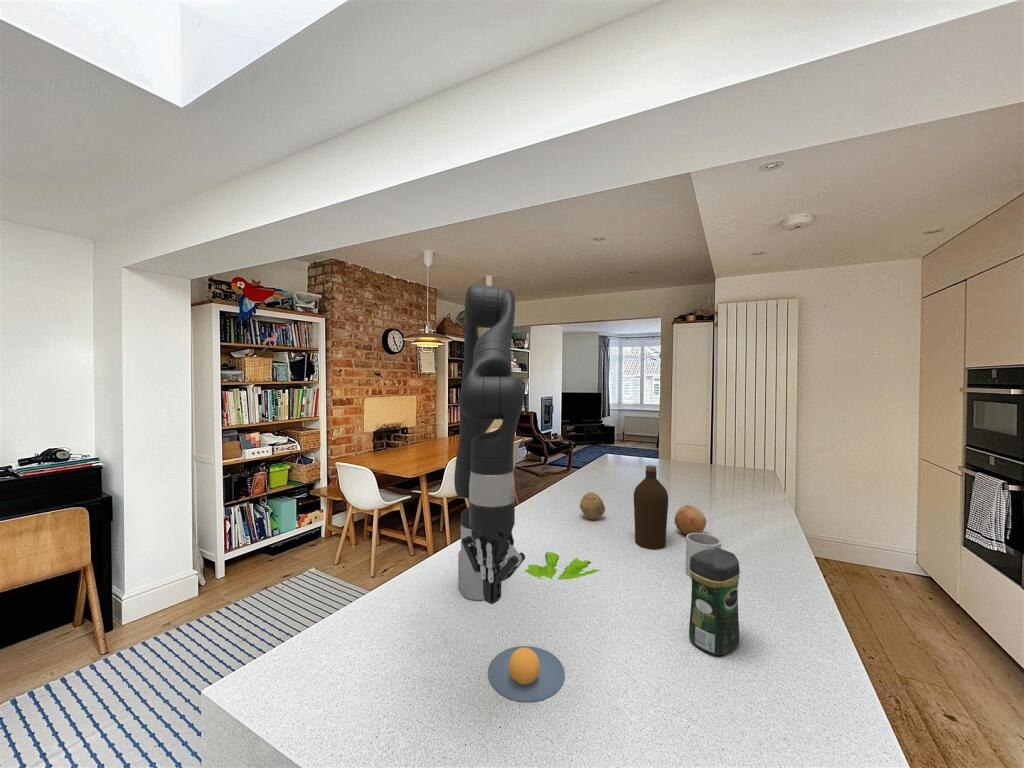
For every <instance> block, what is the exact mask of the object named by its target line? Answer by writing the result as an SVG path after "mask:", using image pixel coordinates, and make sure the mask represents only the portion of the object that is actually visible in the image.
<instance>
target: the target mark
mask: <svg viewBox="0 0 1024 768" xmlns="http://www.w3.org/2000/svg"><path fill="white" fill-rule="evenodd" d="M523 647H525V648H529V649H531V650H533V651H534V652H535V654H536V655H537V657H538V659H539V663H540V669H539V674H538V676H537V678H536V679H535V680H534V681H533V682H532V683H530V684H527V685H522V684H519V683H517V682H516V681H515V680H514V679H513V678H512V676H511V674H510V671H509V661H510V658H511V655H512V654H513V653H514V651H516V650H517V649H519V648H523ZM565 674H566V672H565V668H564V666H563V663H562V662H561V661H560V660H559V658H558V657H557V656H555V655H554V654H553V653H551V652H550V651H548V650H546V649H544V648H541V647H536V646H531V645H530V646H529V645H519V646H514V647H510V648H509V647H508V648H507V649H504V650H503V651H500V652H499V653H498V654H496V655H495V656H494V658H492V660H491V661H490V664H489V665H488V669H487V675H488V676H487V677H488V681H489V683H490V685H491V686H492V688H493V689H494V691H496V692H497V693H498V694H499V695H501V696H502V697H504V698H506V699H509V700H512V701H516V702H520V703H536V702H540V701H544V700H547V699H549V698H551V697H553V696H554V695H555V694H556V693H558V691H560V690H561V689H562V686H563V685H564V682H565V678H566V677H565V676H566V675H565Z"/></svg>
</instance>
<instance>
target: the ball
mask: <svg viewBox="0 0 1024 768" xmlns="http://www.w3.org/2000/svg"><path fill="white" fill-rule="evenodd" d="M539 669H540V663H539V659H538V657H537V655H536V654H535V652H534V651H533V650H531V649H529V648H525V647H523V648H519V649H517V650H516V651H514V653H513V654H512V655H511V658H510V661H509V671H510V674H511V676H512V678H513V679H514V680H515V681H516V682H517V683H519V684H522V685H527V684H530V683H532V682H533V681H534V680H535V679H536V678H537V676H538V674H539Z"/></svg>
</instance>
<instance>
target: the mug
mask: <svg viewBox="0 0 1024 768" xmlns="http://www.w3.org/2000/svg"><path fill="white" fill-rule="evenodd" d="M685 541H686V544H685V546H686V547H685V575H687V577H688V576H689V578H690V579H691V575H690V570H689V569H690V557H691V556H692V555H694V554H696V553H698V552H701V551H704V550H707V549H712V548H715V547H717V548H720V549H722V540H721V539H720V538H719V537H718V536H715V535H712V534H709V533H703V532H702V533H690V534H688V535H686V540H685Z"/></svg>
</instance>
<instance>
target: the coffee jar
mask: <svg viewBox="0 0 1024 768" xmlns="http://www.w3.org/2000/svg"><path fill="white" fill-rule="evenodd" d="M689 570H690V575H691V578H690V579H691V595H690V598H691V599H690V613H689V622H688V623H689V624H688V625H689V626H688V627H689V628H688V629H689V630H688V638H689V639H690V641H691V642H692V644H693V645H695V646H696V647H698V649H699V650H701V651H703V652H706V653H708V654H711V655H712V654H713V655H716V656H722V655H726V654H728V653H730V652H732V651H733V650H734V649H735V648H737V646H738V645H739V643H740V623H739V622H740V621H739V600H738V599H739V589H738V588H739V582H740V581H739V580H740V573H741V572H740V563H739V560H738V558H737V556H736V555H735V554H734V553H733V552H731V551H728V550H725V549H723V548H721V549H720V548H717V547H715V548H712V549H707V550H704V551H701V552H698V553H696V554H694V555H692V556H691V557H690V569H689Z"/></svg>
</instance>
